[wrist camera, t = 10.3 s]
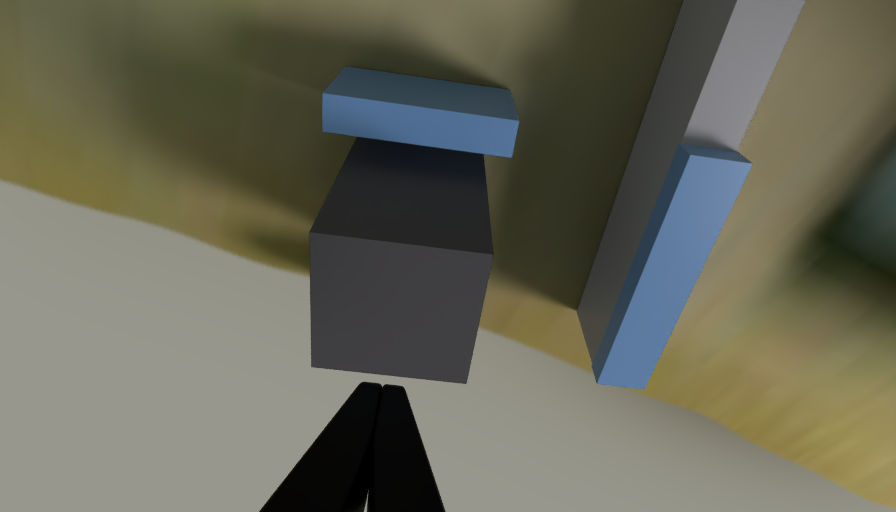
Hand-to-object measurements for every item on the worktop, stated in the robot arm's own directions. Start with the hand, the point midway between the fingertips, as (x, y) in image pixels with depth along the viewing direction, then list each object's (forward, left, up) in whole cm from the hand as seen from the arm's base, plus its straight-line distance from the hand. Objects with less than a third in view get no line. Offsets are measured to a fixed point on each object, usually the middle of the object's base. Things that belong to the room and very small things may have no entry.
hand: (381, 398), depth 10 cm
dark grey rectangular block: (0, 0, -9) cm, 9 cm away
